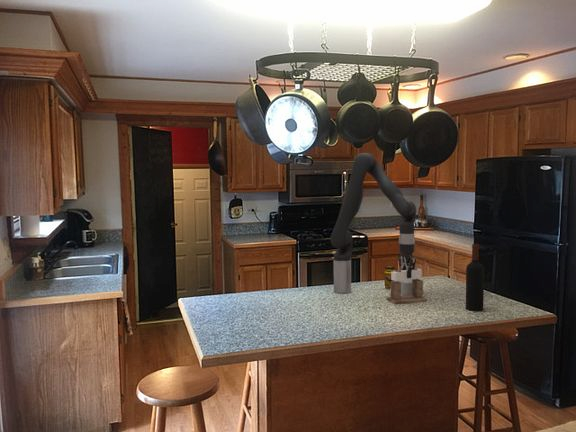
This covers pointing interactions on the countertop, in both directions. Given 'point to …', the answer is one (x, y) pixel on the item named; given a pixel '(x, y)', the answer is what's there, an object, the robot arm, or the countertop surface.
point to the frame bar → (405, 274)
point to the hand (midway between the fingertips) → (406, 276)
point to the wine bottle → (474, 282)
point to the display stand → (402, 299)
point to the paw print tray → (406, 287)
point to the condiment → (388, 276)
